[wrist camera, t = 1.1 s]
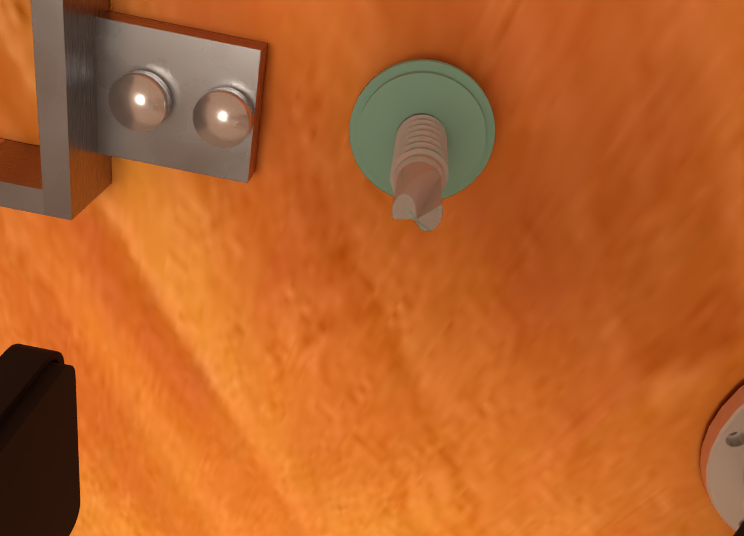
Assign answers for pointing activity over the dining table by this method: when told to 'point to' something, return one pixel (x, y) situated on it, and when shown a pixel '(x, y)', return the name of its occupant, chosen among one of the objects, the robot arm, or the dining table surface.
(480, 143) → the screw
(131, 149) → the riveted metal bracket
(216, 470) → the dining table surface
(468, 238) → the dining table surface
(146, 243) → the dining table surface
